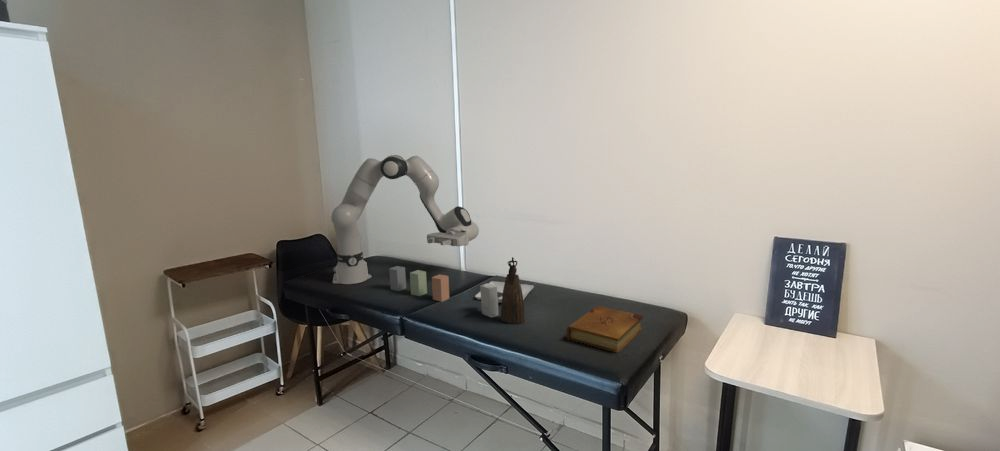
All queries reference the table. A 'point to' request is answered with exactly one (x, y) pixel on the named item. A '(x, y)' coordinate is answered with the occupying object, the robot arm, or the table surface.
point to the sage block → (418, 283)
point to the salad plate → (500, 287)
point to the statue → (512, 298)
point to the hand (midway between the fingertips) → (435, 242)
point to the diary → (605, 328)
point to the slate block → (397, 278)
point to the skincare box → (489, 300)
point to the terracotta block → (440, 287)
